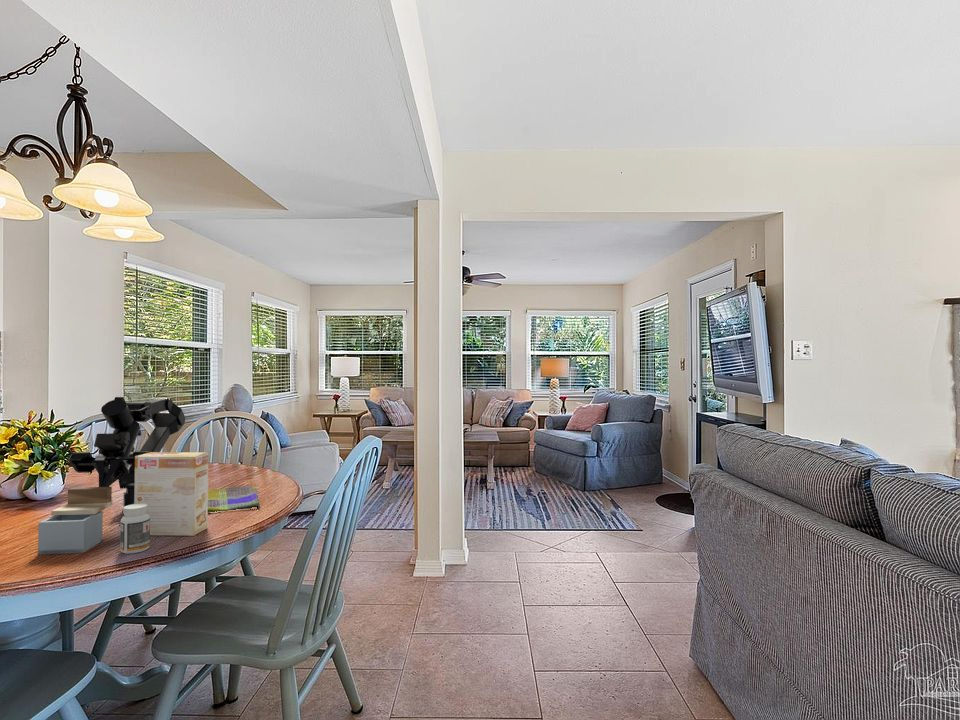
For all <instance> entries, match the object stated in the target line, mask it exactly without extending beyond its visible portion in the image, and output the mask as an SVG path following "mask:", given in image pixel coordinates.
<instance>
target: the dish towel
mask: <svg viewBox="0 0 960 720" xmlns="http://www.w3.org/2000/svg"><path fill="white" fill-rule="evenodd" d="M257 494H259V490H258V488H257V487H256V486H253V485H252V484H251V485H244V486H230V487H225V488H210V489H209V488H208V513H210V512H215V511H216V512H217V511H228V510H236V509H251V508H252V507H257V506H258V507H259V506H260V499H259V500H258V495H257ZM211 507H212V508H211ZM213 507H218V508H213Z"/></svg>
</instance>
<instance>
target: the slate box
mask: <svg viewBox="0 0 960 720" xmlns="http://www.w3.org/2000/svg"><path fill="white" fill-rule="evenodd" d="M103 513H104V512H103V510H102V511H100V512H98V513H96V514H81V515H51V516H50V517H47V518H45V519H43V520H41V521H39V522H38V526H37V527H38V529H37V530H38V531H37V532H38V533H37V541H38V542H37V555H59V554H60V555H61V554H78V553H79V554H81V553H85V552H87V551H88V550H90V549H92V548H94V547H95V546H97V545H98V544H99V543H102V542H103V526H104V525H103V524H104V521H103V519H104V518H103V517H104V515H103Z"/></svg>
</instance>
